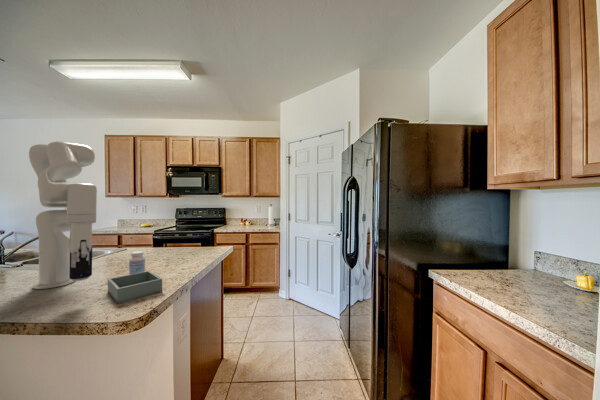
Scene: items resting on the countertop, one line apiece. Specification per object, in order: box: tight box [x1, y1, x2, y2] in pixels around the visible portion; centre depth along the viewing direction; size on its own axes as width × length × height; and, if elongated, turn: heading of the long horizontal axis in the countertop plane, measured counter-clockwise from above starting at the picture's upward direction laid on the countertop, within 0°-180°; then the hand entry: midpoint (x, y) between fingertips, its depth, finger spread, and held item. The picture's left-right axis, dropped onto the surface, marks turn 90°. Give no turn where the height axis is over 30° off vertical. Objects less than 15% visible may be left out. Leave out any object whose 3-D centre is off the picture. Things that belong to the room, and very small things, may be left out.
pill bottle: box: [128, 250, 146, 275], centre depth 109 cm, size 6×6×11 cm
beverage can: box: [69, 244, 93, 282], centre depth 80 cm, size 6×6×12 cm
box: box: [107, 270, 163, 304], centre depth 90 cm, size 16×14×5 cm
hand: (81, 269), depth 80 cm, fingers closed on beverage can, 5 cm apart
